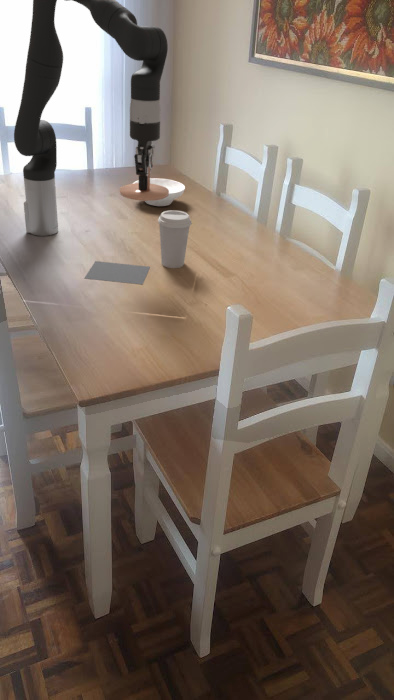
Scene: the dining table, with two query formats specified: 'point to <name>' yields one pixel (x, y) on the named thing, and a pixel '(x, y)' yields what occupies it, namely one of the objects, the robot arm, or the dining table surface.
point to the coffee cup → (173, 237)
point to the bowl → (173, 187)
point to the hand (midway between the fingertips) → (144, 188)
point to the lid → (150, 194)
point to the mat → (118, 272)
